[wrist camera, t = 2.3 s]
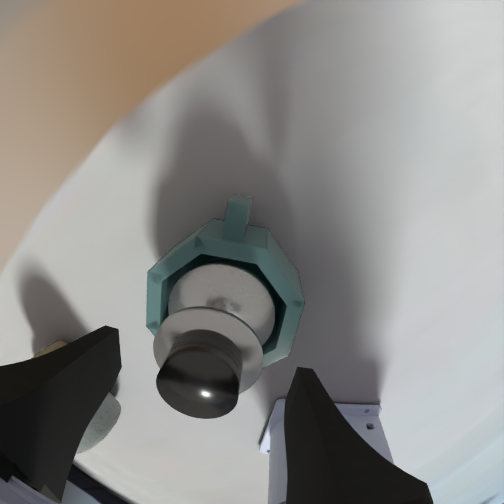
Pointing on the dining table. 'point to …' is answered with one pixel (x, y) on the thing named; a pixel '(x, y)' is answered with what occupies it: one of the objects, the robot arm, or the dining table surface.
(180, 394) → the black and white knob
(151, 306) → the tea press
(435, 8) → the dining table surface
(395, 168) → the dining table surface
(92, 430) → the ceramic mug
